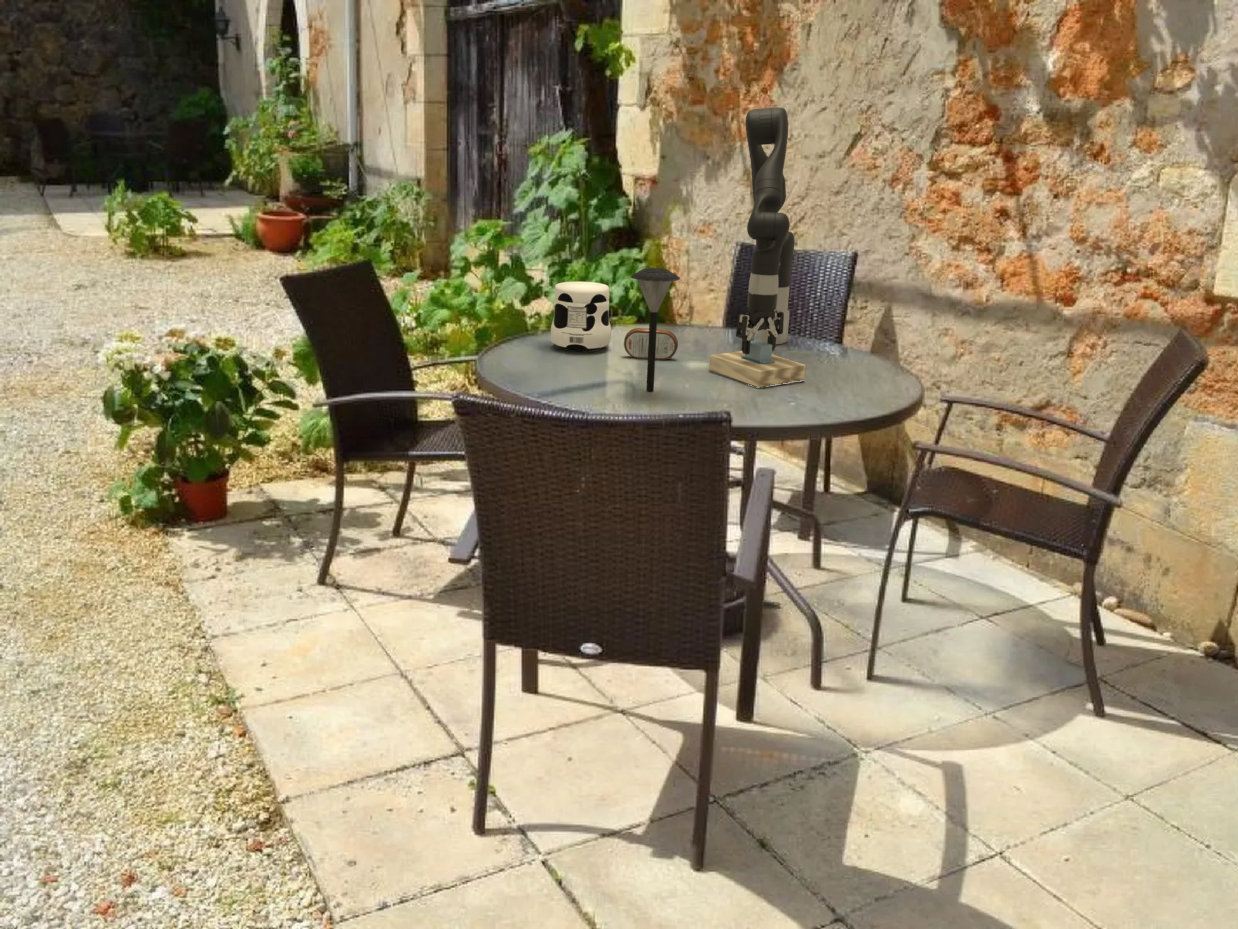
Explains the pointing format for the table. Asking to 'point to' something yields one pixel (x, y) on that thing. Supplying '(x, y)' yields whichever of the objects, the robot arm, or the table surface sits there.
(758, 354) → the grey-blue stepped block
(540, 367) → the table surface
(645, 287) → the solar garden light
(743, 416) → the table surface
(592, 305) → the milk container
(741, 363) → the block
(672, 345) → the tin
